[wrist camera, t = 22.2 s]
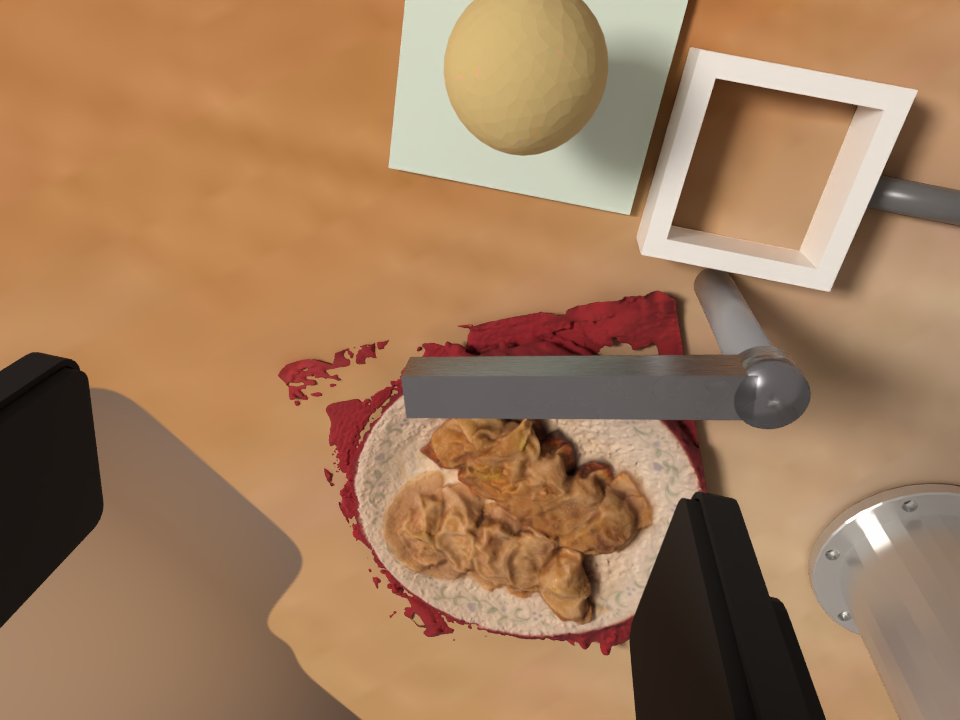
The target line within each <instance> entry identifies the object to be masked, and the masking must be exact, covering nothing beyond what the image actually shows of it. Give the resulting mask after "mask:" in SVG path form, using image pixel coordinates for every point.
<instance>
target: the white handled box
mask: <svg viewBox="0 0 960 720" xmlns="http://www.w3.org/2000/svg"><path fill="white" fill-rule="evenodd" d="M716 78H717V79H723V80H728V81H733V82H739V83H744V84H749V85H754V86H760V87H765V88H770V89H776V90H781V91H786V92H792V93H797V94H802V95H807V96H813V97H818V98H823V99H829V100H834V101H839V102H845V103H850V104H855V105H858V107H857V109H856V112H855V114H854V117H853V119H852V122H851V124H850V127H849V129H848V132H847V134H846V137H845V139H844V142H843V144H842V147H841V149H840V152H839V154H838V157H837V159H836V161H835V164H834V166H833V169H832V171H831V174H830V176H829V179H828V181H827V184H826V186H825V189H824V191H823V194H822V196H821V199H820V201H819V204H818V206H817V209H816V211H815V214H814V216H813V218H812V221H811V223H810V226H809V228H808V231H807V233H806V236H805V238H804V241H803V243H802V246H801V248H800V250H794V249H789V248H784V247H779V246H774V245H769V244H764V243H759V242H754V241H749V240H744V239H739V238H733V237H728V236H723V235H718V234H713V233H708V232H703V231H698V230H693V229H688V228H683V227H678V226H672V225H671V223H672V220H673V217H674V214H675V210H676V207H677V204H678V200H679V197H680V194H681V191H682V187H683V184H684V181H685V177H686V174H687V171H688V168H689V164H690V161H691V158H692V154H693V151H694V148H695V145H696V141H697V138H698V135H699V131H700V128H701V125H702V122H703V118H704V115H705V112H706V109H707V105H708V102H709V99H710V95H711V92H712V89H713V86H714V82H715V79H716ZM917 91H918V90H914V89H909V88H905V87H900V86H895V85H891V84H885V83H880V82H875V81H869V80H864V79H859V78H853V77H848V76H843V75H837V74H832V73H827V72H821V71H816V70H811V69H805V68H800V67H795V66H789V65H784V64H779V63H773V62H768V61H763V60H757V59H752V58H747V57H741V56H736V55H731V54H725V53H720V52H715V51H709V50H704V49H699V48H693V47H690V49H689V53H688V56H687V60H686V63H685V67H684V70H683V74H682V77H681V81H680V85H679V88H678V92H677V95H676V99H675V102H674V106H673V109H672V113H671V116H670V120H669V123H668V127H667V131H666V134H665V138H664V141H663V145H662V148H661V152H660V155H659V159H658V162H657V166H656V169H655V173H654V177H653V180H652V184H651V187H650V191H649V194H648V198H647V201H646V205H645V208H644V212H643V215H642V219H641V223H640V226H639V230H638V233H637V237H636V238H637V241H638V245H639V248H640V252H641V254H642V255H647V256H652V257H657V258H662V259H667V260H672V261H677V262H682V263H687V264H692V265H697V266H702V267H707V269H705V270H703V271H702V272H701V273H699V275H698V276H697V277H696V279H695V282H694V290H695V292H696V295H697V297H698V299H699V302H700V304H701V306H702V308H703V311H704V313H705V315H706V318H707V320H708V322H709V324H710V327H711V329H712V331H713V333H714V336H715V338H716V340H717V343H718V345H719V347H720V349H721V352H722V354H723V355H738V354H740V353H741V352H743V351H745V350H747V349H749V348H752V347H756V346H772V344H771V343H770V341H769V339H768V338H767V336H766V334H765V333H764V331H763V329H762V328H761V326H760V324H759V323H758V321H757V319H756V318H755V316H754V314H753V313H752V311H751V309H750V308H749V306H748V304H747V303H746V301H745V299H744V298H743V296H742V294H741V293H740V291H739V289H738V288H737V286H736V284H735V283H734V281H733V279H732V278H731V276H730V275H729V273H728V272H732V273H737V274H742V275H747V276H752V277H757V278H762V279H767V280H772V281H777V282H782V283H788V284H793V285H798V286H803V287H808V288H813V289H818V290H823V291H828V292H830V290H831V288H832V285H833V283H834V281H835V278H836V276H837V274H838V272H839V269H840V267H841V265H842V263H843V260H844V258H845V256H846V253H847V251H848V249H849V247H850V244H851V242H852V240H853V237H854V235H855V233H856V231H857V228H858V226H859V224H860V221H861V219H862V217H863V215H864V212H865V210H866V208H872V209H877V210H882V211H887V212H892V213H897V214H903V215H908V216H913V217H918V218H923V219H928V220H934V221H939V222H944V223H949V224H954V225H959V226H960V190H955V189H950V188H945V187H940V186H934V185H929V184H924V183H919V182H914V181H908V180H903V179H898V178H893V177H888V176H882V175H881V174H882V171H883V169H884V167H885V164H886V162H887V160H888V158H889V155H890V153H891V151H892V148H893V146H894V144H895V142H896V139H897V137H898V135H899V132H900V130H901V128H902V126H903V123H904V121H905V119H906V117H907V114H908V112H909V110H910V107H911V105H912V103H913V101H914V98H915V96H916V94H917Z"/></svg>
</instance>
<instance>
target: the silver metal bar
mask: <svg viewBox="0 0 960 720" xmlns="http://www.w3.org/2000/svg"><path fill="white" fill-rule="evenodd" d="M401 381H402V388H403V395H404V403H405V410H406V417H407V418H461V419H620V420H743V421H744V422H745V423H747V424H749V425H751V426H753V427H756V428H761V429H775V428H780V427H783V426H786V425H788V424H790V423H792V422H793V421H795V420H796V419H798V418H799V417H800V416H801V415H802V414H803V412H804V411H805V410H806V408H807V406H808V404H809V401H810V388H809V385H808V382H807V381H806V379H805V378H804V376H803V374H802V373H801V371H800V370H799V368H798V367H797V365H796V363H795V362H794V360H793V359H792V357H791V356H790V355H789V354H788V353H787V352H785V351H784V350H782V349H780V348H777V347H773V346H756V347H752V348H749V349H747V350H745V351H743V352H741V353H740V354H738V355H626V356H479V357H410V359H409V361H408V363H407V365H406V367H405V369H404V371H403V373H402V375H401Z"/></svg>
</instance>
